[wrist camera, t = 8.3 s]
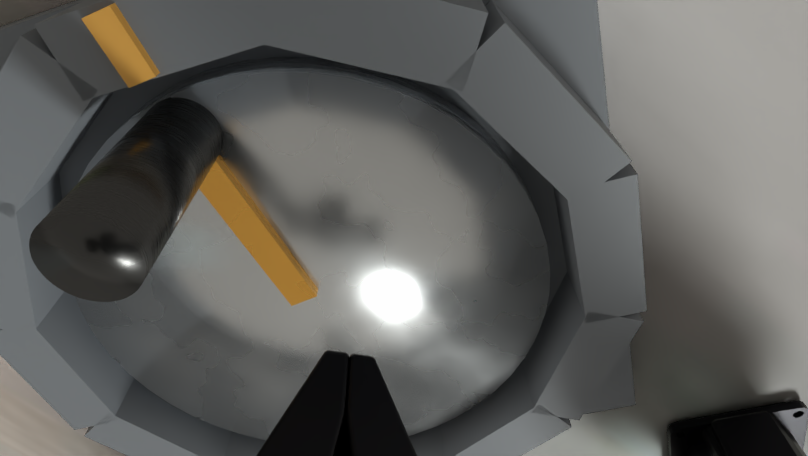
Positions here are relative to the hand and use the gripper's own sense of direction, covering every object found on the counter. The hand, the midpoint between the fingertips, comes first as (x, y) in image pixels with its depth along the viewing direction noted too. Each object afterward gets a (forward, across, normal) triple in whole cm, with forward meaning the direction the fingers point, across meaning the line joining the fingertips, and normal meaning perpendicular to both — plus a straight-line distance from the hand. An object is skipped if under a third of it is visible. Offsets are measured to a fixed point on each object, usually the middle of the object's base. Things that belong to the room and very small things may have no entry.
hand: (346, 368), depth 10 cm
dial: (+10, +1, +6) cm, 12 cm away
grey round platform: (+11, +1, +6) cm, 13 cm away
